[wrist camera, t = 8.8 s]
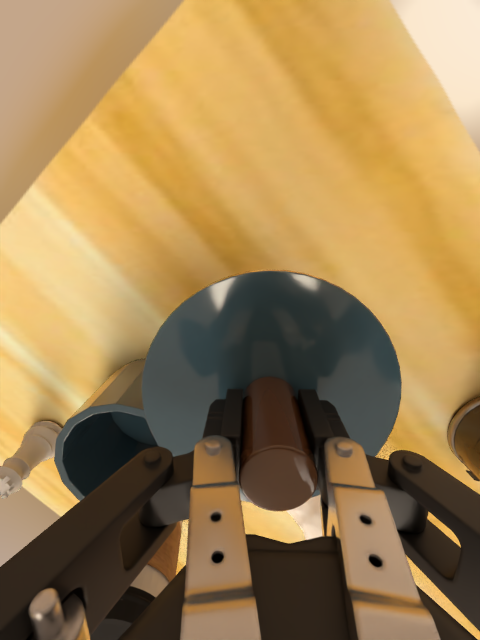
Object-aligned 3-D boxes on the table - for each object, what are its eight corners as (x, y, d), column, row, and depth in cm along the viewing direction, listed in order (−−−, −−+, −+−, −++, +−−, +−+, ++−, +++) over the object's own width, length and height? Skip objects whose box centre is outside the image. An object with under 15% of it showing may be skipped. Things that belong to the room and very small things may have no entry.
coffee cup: (114, 496, 39) (35, 650, 25) (163, 462, 38) (108, 605, 23) (160, 537, 41) (111, 704, 26) (209, 506, 39) (184, 666, 25)
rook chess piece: (26, 420, 37) (-34, 471, 29) (62, 416, 36) (11, 465, 29) (38, 452, 38) (-16, 509, 30) (73, 448, 37) (27, 504, 30)
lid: (239, 211, 14) (231, 195, 8) (445, 365, 15) (565, 448, 9) (105, 411, 17) (26, 509, 11) (289, 522, 18) (308, 659, 12)
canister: (137, 338, 33) (94, 378, 24) (224, 395, 35) (214, 453, 26) (87, 413, 36) (32, 475, 27) (170, 463, 38) (144, 537, 28)
